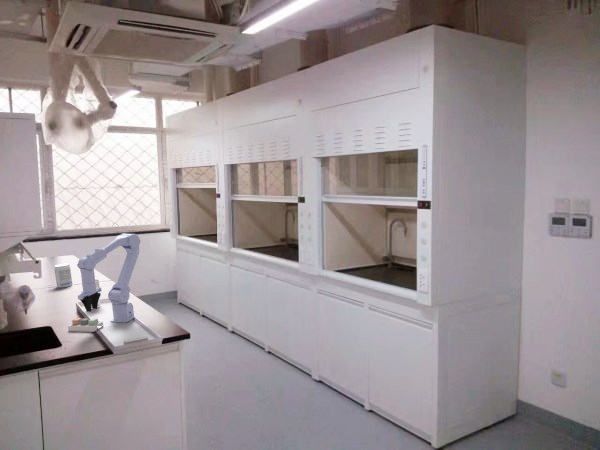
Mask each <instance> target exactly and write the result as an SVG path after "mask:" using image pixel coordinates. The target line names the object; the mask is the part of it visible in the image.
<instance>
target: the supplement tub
mask: <svg viewBox="0 0 600 450" xmlns="http://www.w3.org/2000/svg"><path fill="white" fill-rule="evenodd" d="M53 266H54V275H55V282H56V287H57V288H59V289H61V288H67V287H71V286H72V285H73V280H72V272H71V266H70V263H61V264H56V265H53Z"/></svg>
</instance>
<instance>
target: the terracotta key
mask: <svg viewBox="0 0 600 450" xmlns="http://www.w3.org/2000/svg"><path fill="white" fill-rule="evenodd" d="M82 319H83V318H82V317H81V318H80V317H77V318H76V317H75V318H74V319H72V320H71V324H73V325H79V324H80V320H82Z"/></svg>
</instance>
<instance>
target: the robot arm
mask: <svg viewBox="0 0 600 450" xmlns="http://www.w3.org/2000/svg"><path fill="white" fill-rule="evenodd" d="M140 244H141V239H140V237H139V236H138V234H136V233H125V232H124V233H123V232H122V233H120V234H119V235H116V237H115V239H113V240H112V241H111V242H109V243H108V244H106V245H105V246H104V247H102V248H101V247H99V248H98V247H97V248H96V247H95V249H94V250H93V251H92V252H91V253H89V254H88V253H87V254H86V256H83V257H81V258H80V259H78V261H77V264H76V266H77V267H78V269H79V270H80V277H81V284H82V291H81V293H80V294H79V295H77V299H78V300H79V301H80V302H81V303H82V305H83V307H84V310H85V312H88V313H90V312H92V310H94V309H95V310H97V309H98V308H97V306H98V301H99V299H100V298H101V296H102V295H101V294H102V293H101V292H102V287H101V286H100V287H97V288H96V284H95V280H96V278H95V277H96V275H95V267H97V264H99V263H100V262H102V261H104V260H105V259H106V258H107V255H108V254H109V253H111V252H113V251H114V250H115V249H118V248H119V247H122V248H123V249H124V250H125V251H126V256H125V258H124V262H123V263H122V268H121V270H120V273H119V276H118V278H117V281H116V283H114V285H112V288H111V289H110V290H108V294H107V297H108V300H109V301H110V302H111V307H112V316H113V317H112V318H113V319H111V320H110V321H109V322H110V323H112V322H113V323H127V322H130V321H131V320H133V319H135V318H136V316H135V313H134V312H135V311H134V305H133V303H132V302H128V301H129V300H130V291H131V289H130V287H129V283H130V280H131V278H132V275H133V271H134V269H135V266H136V263H137V260H138V257H139V255H140ZM98 292H100V293H98ZM91 304H92V308H93V309H91Z"/></svg>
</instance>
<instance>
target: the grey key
mask: <svg viewBox="0 0 600 450" xmlns="http://www.w3.org/2000/svg"><path fill="white" fill-rule="evenodd" d="M90 319H91V318H86V317H84V318H82V320H80V324H81V325H88V324H89V322H88V320H90Z"/></svg>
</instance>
